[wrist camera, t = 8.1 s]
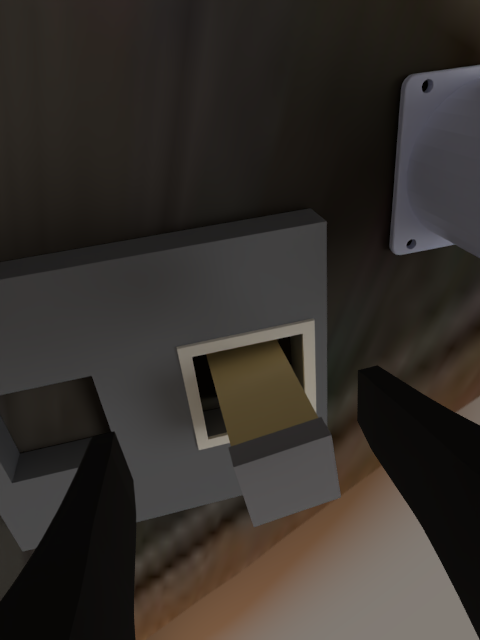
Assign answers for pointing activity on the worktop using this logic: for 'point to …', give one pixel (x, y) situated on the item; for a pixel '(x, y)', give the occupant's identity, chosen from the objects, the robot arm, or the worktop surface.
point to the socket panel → (155, 351)
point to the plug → (273, 433)
